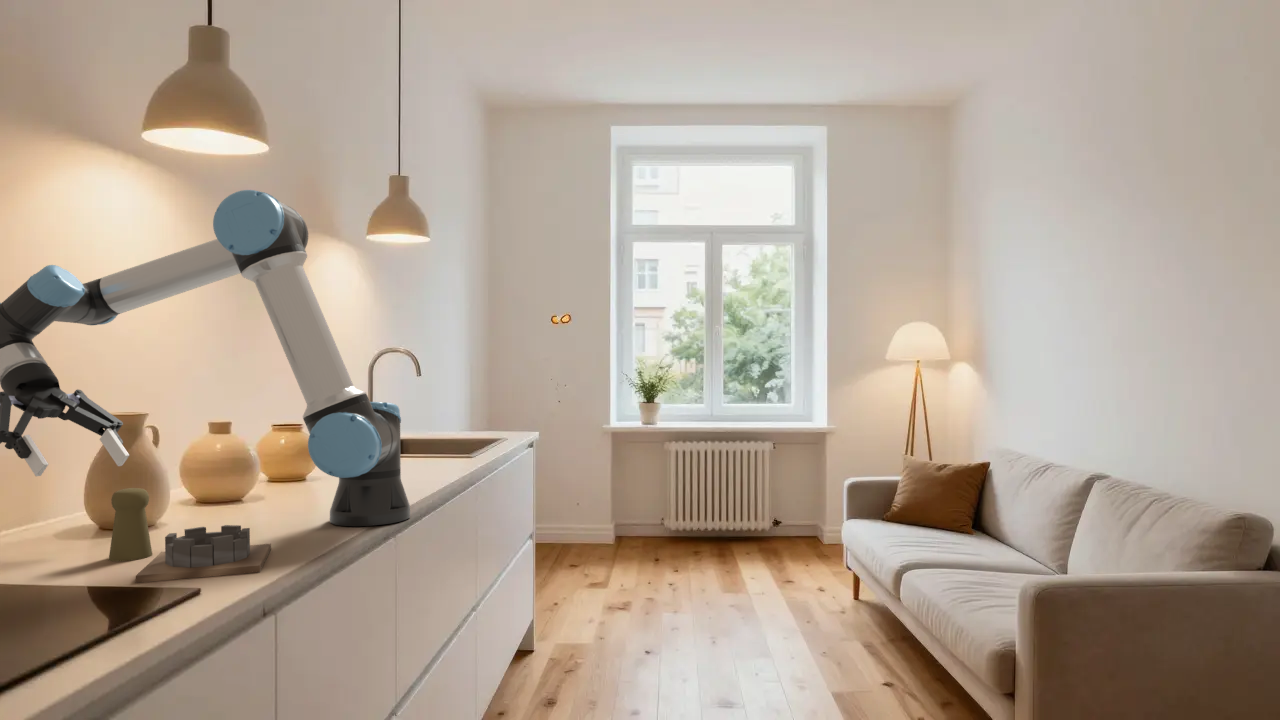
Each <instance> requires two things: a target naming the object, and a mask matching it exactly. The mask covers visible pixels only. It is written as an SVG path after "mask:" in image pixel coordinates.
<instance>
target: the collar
mask: <svg viewBox="0 0 1280 720" xmlns="http://www.w3.org/2000/svg"><path fill="white" fill-rule="evenodd" d="M220 528H221V530H220V531H211V532H210V531H209V532H207V527H206V526H200V527H193V528H192V527H191V528H185V529H184V535H183V536H179V537H178V533H177V532H173V533H172V532H171V533H170V532H169V533H167V535H165V537H164V540H165V542H164V544H165V545H164V546H165V548H164V550H165V551H161V552H160V553H159V554H158V555H157V556H156V557H155V558H154V557H153V559H152V560H151V561H150V562H149V563H148V564H147V565H146V566H144V567H143V568H142V569H141V570H140V571H139V572H138V573H136V574H135V584H136V583H137V584H138V583H149V582H151V583H152V582H161V581H172V580H173V581H174V580H184V579H196V578H207V577H218V576H221V577H222V576H230V575H231V576H232V575H242V574H243V575H244V574H255V573H256V574H257V573H260V572H261V571H262V568H263V567H264V564H265V562H266V560H267V558H268V556H269V555H270V552H271V550H272V543H264V544H263V543H259V544H251V542H250V541H251V539H250V538H251V537H250V536H251V535H250V534H251V532H250V531H251V530H250V529H251V527H246V528H245V527H244V528H242V525H235V524H230V525H229V524H224V525H221V526H220Z"/></svg>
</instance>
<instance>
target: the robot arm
mask: <svg viewBox="0 0 1280 720" xmlns="http://www.w3.org/2000/svg"><path fill="white" fill-rule="evenodd" d="M212 228H213V232H214V235H215V238H216V239H213V240H210V241H206V242H204V243H201V244H197V245H195V246H192V247H188V248H186V249H182V250H180V251H177V252H173V253H171V254H167V255H164V256H162V257H159V258H155V259H153V260H150V261H147V262H144V263H141V264H138V265H136V266H132V267H130V268H126V269H123V270H120V271H118V272H114V273H111V274H108V275H105V276H102V277H101V278H98V279H93V280H91V281H88V282H84V283H82V282H81V280H79V279H78V277H77V276H76V275H74V274H73V273H71V272H70V271H69V270H67V269H64V268H62V267H61V266H59V265H56V264H55V265H54V264H49V265H45V266H43V268H42V269H40V270H39V271H37V272H36V273H33V275H30V276H29V278H28V279H27V280H26V281H25V282H24V283H23V284H21V285H20V286H19V287H18V288H17V289H16V290H15V291H14V292H13V293H12V294H10V295H9V296H7V298H6V299H4V300H3V301H2V302H0V388H1V389H2V391H0V444H3V443H4V444H5V445H4V447H5V448H6V449H8V450H14V452H15V453H16V455H17V457H18V458H19V459H24V461H25V463H26V464H27V465H28V467H29V469H30V470H31V472H32V473H33V474H34V476H35V477H41V476H42V475H43V474H44V473H45V472H44V471H46V469H47V468H48V466H49V463H48V461H47V460H46V458H45V457H44V454H43V453H42V452H41V449H39V446H38V445H37V444H36V443H35V441H34V440H33V438H32V436H31V435H30V434H24V432H25V430H26V429H27V426H28V425H29V424H30V421H31V419H32V418H33V417H35V418H37V419H38V420H39V419H45V418H52V419H55V418H58V419H60V420H62V421H70V422H72V423H74V424H76V425H78V426H80V427H82V428H84V429H86V430H88V431H90V432H93V433H94V434H96V435H99V436H100V438H99V441H100V442H101V444H102V445H103V447H104V448H105V450H106V451H107V453H108V454H109V456H110V457H111V458H112V460H113V461H114V463H115V464H116V466H117V467H122V466H123V465H124V464H125V463H126V461H127V460H128V459H129V457H130V454H129V452H128V451H127V449H126V448H125V447H124V445H123V444H124V440H123V439H122V438H121V436H120V435H119V433H118V432H119V431H120V429H121V428H122V426H123V425H124V422H123V421H122V420H120V419H119V418H117V416H114V415H113V414H111V413H110V412H109V411H107V410H106V409H104V408H103V407H102V406H101V405H99V404H97V403H96V402H95V401H93V400H92V399H90V398H89V397H88V396H87V395H86V394H85V392H84V391H83V390H81V389H78V388H77V389H75V391H74V392H73V393H66V392H64V391H63V390H62V389H61V386H60V383H59V379H58V378H57V376H56V374H55V372H54V371H53V370H52V368H51V367H50V366H49V365H48V362H47V361H46V360H45V359H44V357H43V356H42V354H41V352H40V351H39V350H38V349H37V346H36V345H35V344H34V342H33V340H34V339H35V338H36V337H37V336H39V334H41V333H42V332H43V331H44V330H45V329H47V328H48V327H50V325H51V324H53V323H54V322H59V323H60V322H61V323H73V324H80V325H81V324H82V325H86V326H98V325H105V324H109V323H111V322H112V321H114V320H115V319H116V318H117V317H118V315H120V314H121V315H122V314H123V313H126V312H129V311H132V310H135V309H138V308H141V307H144V306H147V305H150V304H153V303H156V302H159V301H162V300H165V299H168V298H171V297H173V296H178V295H180V294H183V293H186V292H189V291H193V290H194V289H195V290H196V289H197V288H201V287H204V286H207V285H209V284H213V283H215V282H218V281H222V280H224V279H228V278H230V277H233V276H236V275H237V276H238V275H239V274H240V275H241V277H242V278H244V279H246V280H249V281H250V282H253V283H254V284H255V287H256V289H257V291H258V294H259V296H260V298H261V301H262V303H263V305H264V307H265V309H266V312H267V315H268V317H269V319H270V322H271V324H272V326H273V328H274V331H275V332H276V333H275V334H276V335H277V338H278V340H279V343H280V345H281V347H282V349H283V352H284V354H285V357H286V359H287V361H288V364H289V365H290V368H291V370H292V374H293V375H294V378H295V379H296V382H297V384H298V386H299V389H300V391H301V394H302V396H303V399H304V401H305V403H306V408H305V411H304V413H303V415H302V419H303V421H304V424H305V426H306V429H307V432H308V433H309V436H308V442H307V443H308V444H307V449H308V450H307V451H308V455H309V456H310V459H311V461H312V462H313V464H314V465H315V466H316V467H317V468H318V469H319V470H320V471H321V472H322V473H324V474H326V475H328V476H331V477H334V478H338V485H337V487H336V491H335V494H334V497H333V500H332V503H331V506H330V509H329V523H330V524H332V525H335V526H342V527H343V526H345V527H370V526H381V525H389V524H395V523H399V522H404V521H406V520H408V519H410V517H411V505H410V502H409V499H408V496H407V493H406V491H405V488H404V485H403V482H402V477H401V475H402V474H401V473H402V472H401V465H402V463H401V423H402V417H401V413H400V412H401V411H400V408H399V405H397V404H396V403H393V402H383V401H382V402H381V401H370V399H369V397H368V395H367V392H366V391H364V390H362V389H359V388H356V387H355V386H354V384H353V381H352V379H351V375H349V371H348V369H347V368H346V364H345V363H344V359H343V358H342V356H341V353H340V351H339V349H338V346H337V343H336V341H335V338H334V337H333V334H332V331H331V330H330V328H329V325H328V323H327V320H326V318H325V315H324V313H323V311H322V308H321V306H320V304H319V301H318V299H317V297H316V294H315V292H314V289H313V287H312V286H311V283H310V280H309V277H308V276H307V274H306V271H305V269H304V265H305V262H306V260H307V259H308V254H307V251H306V247H307V246H308V241H309V230H308V225H307V224H306V221H305V219H304V218H303V216H301V214H300V213H299V212H298V211H297V210H295V209H294V208H293V207H291V206H289V205H287V204H286V203H283V202H281V201H280V200H279V199H277V198H276V197H274V196H273V195H271V194H269V193H267V192H263V191H259V190H255V189H243V190H238V191H236V192H234V193H231V194H229V195H228V196H226V197H225V198H224V199H222V200H221V202H220V204H218V207H217V208H216V211H215V212H214V215H213V219H212ZM12 406H14V407H15V408H17V409H19V410H21V411H22V412H23V413H22V414H21V416H20V418H19V420H18V422H17V424H16V425H15V426H14V429H13V431H10V423H11V421H10V420H11V411H12ZM66 407H68V409H67V410H66V412H64V411H65V409H66Z"/></svg>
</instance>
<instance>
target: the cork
mask: <svg viewBox="0 0 1280 720" xmlns="http://www.w3.org/2000/svg"><path fill="white" fill-rule="evenodd" d="M149 502H150V495H149V492H148V491H147V490H146V489H144V488H139V487H129V488H128V487H127V488H123V489H119V490H117V491H115V492H114V493H113V494H112V496H111V507H112V508H113V509H114V510H115V512H114V513H115V514H114V519H113V527H112V532H111V533H112V534H111V535H112V536H111V541H110V548H109V554H108V561H111V562H129V561H130V562H131V561H136V560H143V559H147V558H150V557H152V556H153V551H152V549H153V548H152V543H151V537H150V532H149V531H150V530H149V524H148V519H147V511H146V507H147V506H148V505H149Z"/></svg>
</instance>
